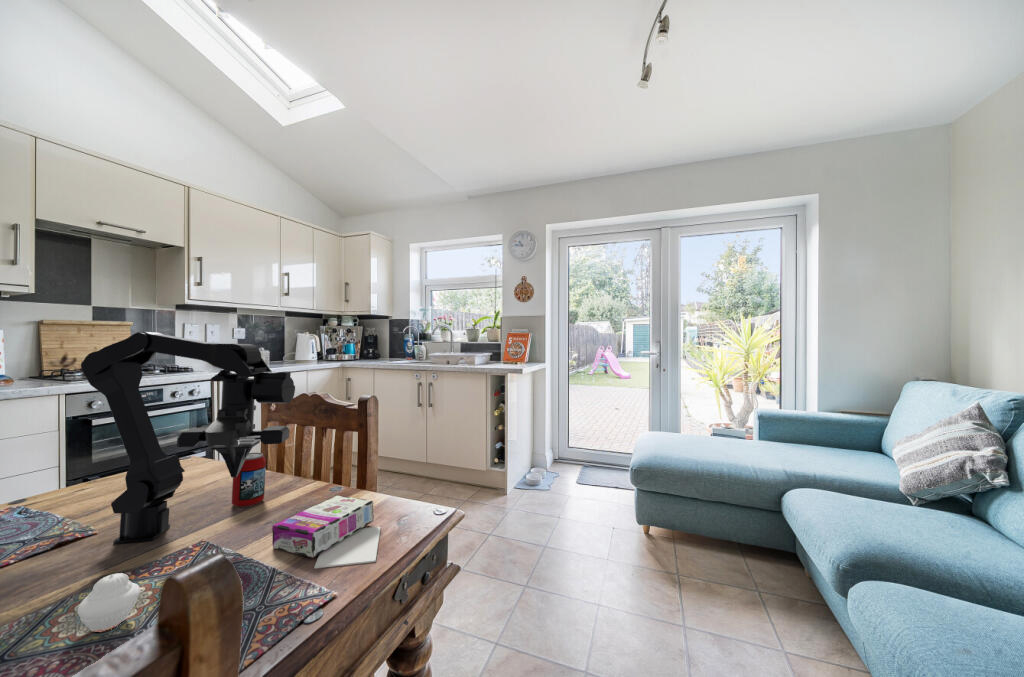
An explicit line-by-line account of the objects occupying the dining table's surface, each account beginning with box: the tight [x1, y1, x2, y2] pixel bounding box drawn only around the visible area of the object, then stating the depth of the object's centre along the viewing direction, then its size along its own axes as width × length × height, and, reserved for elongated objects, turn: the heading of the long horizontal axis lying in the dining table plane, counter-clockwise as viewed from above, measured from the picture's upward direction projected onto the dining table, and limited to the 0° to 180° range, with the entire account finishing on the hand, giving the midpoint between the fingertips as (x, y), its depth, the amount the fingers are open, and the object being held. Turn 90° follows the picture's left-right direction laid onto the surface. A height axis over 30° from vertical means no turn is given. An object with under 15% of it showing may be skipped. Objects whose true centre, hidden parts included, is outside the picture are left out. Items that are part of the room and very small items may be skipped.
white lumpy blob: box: [76, 572, 141, 631], centre depth 54 cm, size 6×6×7 cm
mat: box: [314, 526, 382, 569], centre depth 77 cm, size 10×14×1 cm
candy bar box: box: [271, 495, 375, 558], centre depth 81 cm, size 11×5×16 cm
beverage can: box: [231, 452, 267, 508], centre depth 96 cm, size 7×7×12 cm
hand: (234, 476), depth 81 cm, fingers closed
